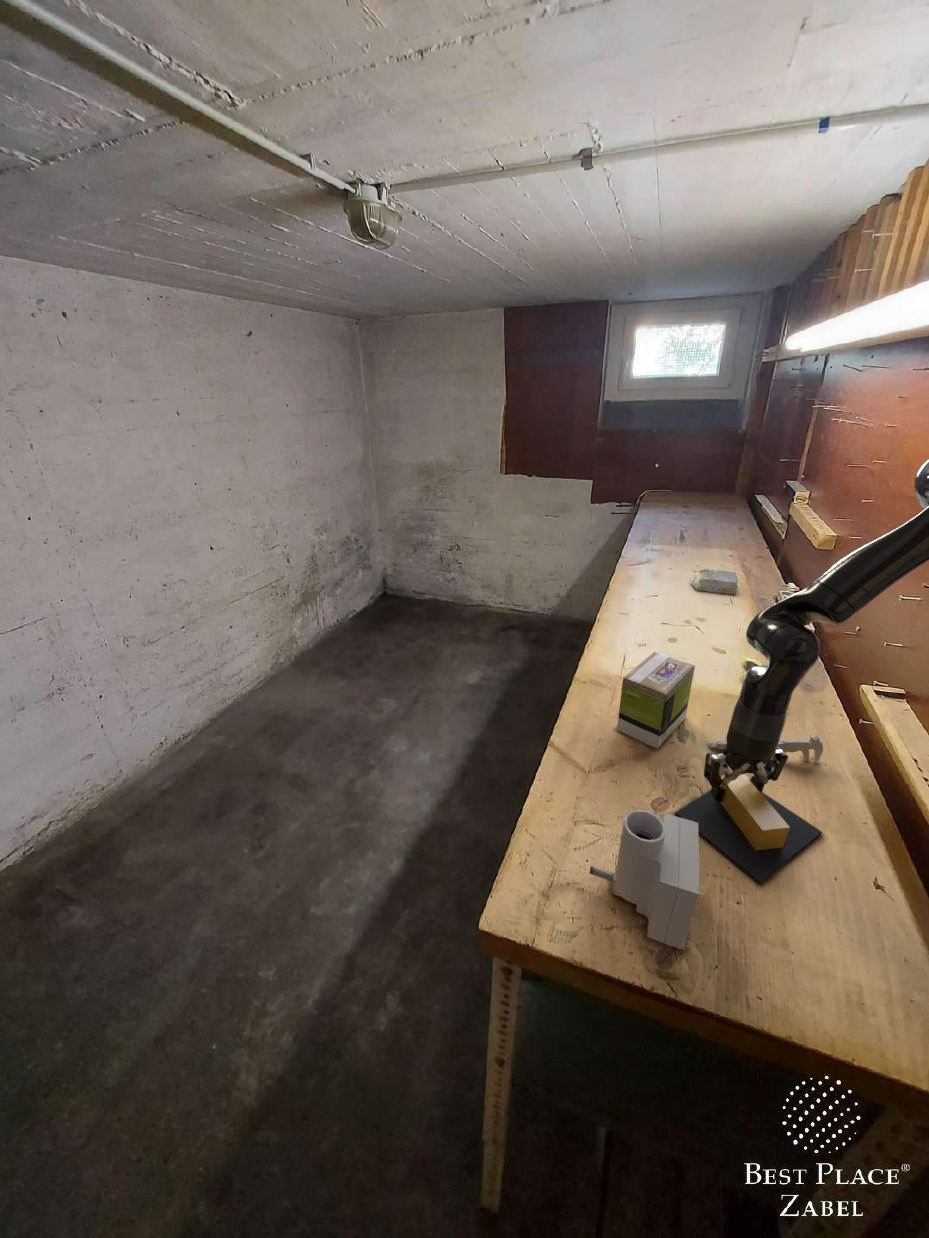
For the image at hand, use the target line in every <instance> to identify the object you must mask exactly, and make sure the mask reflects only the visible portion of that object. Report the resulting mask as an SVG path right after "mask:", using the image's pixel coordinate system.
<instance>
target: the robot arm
mask: <svg viewBox="0 0 929 1238" xmlns="http://www.w3.org/2000/svg"><path fill="white" fill-rule="evenodd" d="M913 487H914V489H913V490H914V494H915V498H916V500H917V502H918V504H919V506H920V507H921V509H923V510H922V511H921V512H920V513H919V514H916V515H915V516H914V517H913V518H911V519H909V520H908V521H906V522H905V523H903V524H901V525H900V526H898V527H897V528H895V529H893V530H891V531H889V532H887V533H886V534H884V535H882V536H880V537H878V538H875V539H874V540H871V542H868V543H866V544H864V545H863V546H861V547H859V548H856V549H855V550H853V551H851V552H850V553H848V554H846V555H845V556H844V557H842V558H841V559H839V560H838V561H837V562H835V563H834V564H833V565H832V566H830V567H829V568H828V569H827V570H825V572H823V573H822V574H820V576H818V577H817V578H816V579H815V580H814V581H813V582H811V583H810V584H808V586H807V587H806V588H803V589H801V590H800V591H797V592H795V593H793V594H791V595H789V596H787V597H785V598H783V599H781V600H779V601H777V602H775V603H774V604H772V605H770V606H768V607H766V608H765V609H762V610H761V611H760V612H759V613H757V614H756V615H755V616H754V617H753V618H752V619H751V620H750V622H749V624H748V625H747V628H746V631H745V639H746V642H747V643H748V644H749V646H750V647H751V648H752V649H754V650H755V651H756V652H758V654H760V655H761V656H762V657H764V658H765V659H766V660H767V661H768V665H764V664H762V665H760V666H754V667H752V668H750V669H748V670H747V671H746V672H747V673H746V672H745V673H746V675H745V678H744V680H743V681H742V684H741V688H740V691H739V695H738V699H737V701H736V703H735V704H734V708H733V711H732V715H731V719H730V721H729V726H728V730H727V733H726V738H725V739H726V740H725V741H727V747H726V749H723V751H722V752H721V753H719V754H714V753H713V752H712V751H709V752H707V753H706V754H705V760H704V768H703V770H704V771H703V777H704V779H706V781H707V782H708V784H709V785H710V787H711V789H710V790H711V794H712V796H713V797H714V798H715V800H716V801H717V802H723V798H724V795H725V791H726V786H727V785H728V784H729V783H730V781H735V780H736V779H737V778H738V776H739V775H746V774H753V775H751V777H750V779H749V780H750V781H751V782H752V783H753V784H754V786H755V787H756V788H757V789H758V790H759V791H760V793H763V790H764V787H765V785H767V784H768V783H769V781H772V782H776V781H777V780H779V778H780V776H781V774H782V772H783V770H784V767H785V766H786V763H787V761H788V759H789V755H787V754H786V752H783V750H782V749H780V748H779V747H778V743H779V741H781V737H782V733H783V730H784V728H785V724H786V720H787V713H788V710H789V707H790V703H791V700H792V697H793V694H794V691H795V690H796V689H797V687H798V686H799V685H801V682H802V681H803V680H804V679H805V677H806V676H807V675H808V673H809V672H810V671H811V669H812V668H813V667H814V666H815V664H816V663H817V661H818V659H819V657H820V654H821V643H820V639H819V638H818V636H817V634H816V633H814V631H812V630H811V629H809V628H808V627H806V626H807V625H808V626H809V625H810V624H813V623H815V622H817V623H818V622H819V623H825V624H829V625H833V626H837V625H841V624H844V623H845V622H847V621H848V620H850V618H852V617H853V616H855V614H857V613H858V612H859V611H861V610H862V609H863V608H865V607H866V606H867V605H868V604H870V603H871V602H872V601H874V600H875V599H876V598H877V597H878V596H880V595H881V594H882V593H884V592H885V591H886V590H888V589H889V588H891V586H893V585H894V584H895V583H897V582H898V581H900V580H901V579H902V578H904V577H905V576H907V575H908V574H910V573H912V572H913V571H914V570H916V569H917V568H919V567H920V566H922V565H924V564H925V563H927V562H928V561H929V459H928V460H927V461H925V462H924V463H923V464H922V466H921V467H920V468H919V470H918V472H917V473H916V476H915V479H914V486H913ZM721 777H724V778H723V779H722V778H721Z"/></svg>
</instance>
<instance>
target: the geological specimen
mask: <svg viewBox="0 0 929 1238" xmlns="http://www.w3.org/2000/svg"><path fill="white" fill-rule="evenodd" d="M738 583H739V579H738V575H737V572H736V571H728V570H718V569H717V570H716V569H709V568H702V569H699V570H697V571H696V572H695V574H694V575H693V579H692V580H691V586H692V587H693V588H695V590H696V591H700V592H706V593H714V594H717V593H718V594H724V595H731V596H732V595H733V596H734V595H735V594H736V592H737V590H738Z"/></svg>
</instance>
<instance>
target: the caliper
mask: <svg viewBox="0 0 929 1238" xmlns="http://www.w3.org/2000/svg"><path fill="white" fill-rule="evenodd" d="M709 744H710V747H711V748H717V750H725V749H726V747H727V741H726V740H716V742H711V743H709ZM778 747H779V748H780V749H781V750H782V751H783V752H784V753H797V752H801V753H802V755H803V758H804V760H805V761H806V762H809V761H810V760H809V759H810V750H813V759H814V761H815V762H819V761H820V759H821V757H822V754H823V751H824V742H823V741H822V739H820V736H819V735H818V734H816V735H815V736H814V737H813V736H812V735H811V734H810V735H809V740H808V739H807V738H791V739H790V738H789V739H788V738H785V739H781V740H779V743H778Z"/></svg>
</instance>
